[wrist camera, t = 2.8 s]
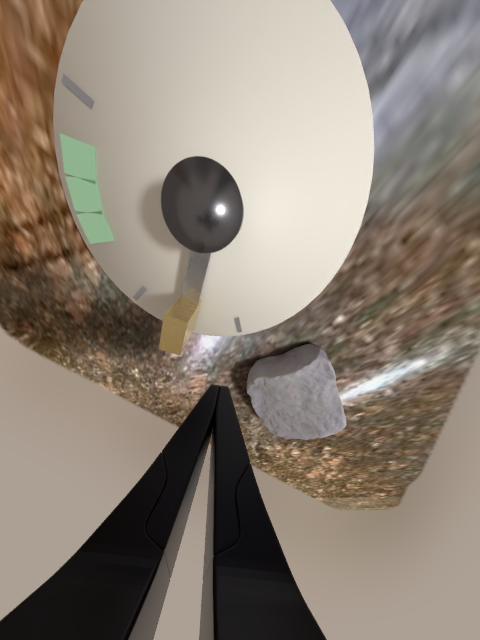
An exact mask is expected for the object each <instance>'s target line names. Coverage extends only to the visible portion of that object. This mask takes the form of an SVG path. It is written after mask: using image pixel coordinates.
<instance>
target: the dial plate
mask: <svg viewBox="0 0 480 640" xmlns="http://www.w3.org/2000/svg"><path fill="white" fill-rule="evenodd" d="M53 127H54V141H55V152H56V158H57V164H58V169H59V175H60V179H61V183H62V186H63V190H64V193H65V197H66V201H67V203H68V206H69V208H70V211H71V214H72V216H73V219H74V221H75V224H76V226H77V228H78V230H79V232H80V234H81V236H82V238H83V240H84V242H85V244H86V245H87V247H88V249H89V250H90V252H91V253H92V255H93V257H94V258H95V260H96V261H97V263H98V264H99V265H100V267H101V268H102V269H103V271H104V272H105V273H106V275H107V276H108V277H109V278H110V279H111V280H112V281H113V283H114V284H115V285H116V286H117V287H118V288H119V289H120V290H121V291H122V292H123V293H124V294H125V295H126V296H127V297H129V298H130V299H131V300H132V301H133V302H134V303H136V304H137V305H138V306H140V307H141V308H142V309H144V310H145V311H146V312H148V313H150V314H151V315H153V316H155V317H156V318H158V319H160V320H162V321H163V318H164V314H165V313H166V312H167V311H168V310H169V309H170V308H171V307H172V306H173V305H174V304H175V302H176V301H177V300H178V299H179V298H180V297H181V296H182V293H183V288H184V283H185V278H186V273H187V268H188V263H189V258H190V253H191V250H189V249H188V248H186V247H184V246H183V245H182V244H180V243H179V242H178V241H177V240H176V239H175V238H174V236H173V235H172V234H171V232H170V231H169V229H168V227H167V225H166V223H165V220H164V217H163V214H162V209H161V191H162V186H163V183H164V180H165V178H166V176H167V174H168V173H169V171H170V170H171V169H172V167H173V166H174V165H176V164H177V163H178V162H179V161H181V160H183V159H185V158H188V157H193V156H202V157H207V158H210V159H213V160H215V161H217V162H218V163H220V164H221V165H222V166H224V167H225V168H226V169H227V170H228V171H229V173H230V174H231V175H232V176H233V178H234V180H235V181H236V183H237V185H238V188H239V191H240V194H241V197H242V201H243V206H244V219H243V224H242V227H241V230H240V231H239V233H238V235H237V236H236V237H235V238H234V240H233V241H232V242H231V243H230V244H229V245H228V246H226V247H225V248H223V249H222V250H220V251H217V252H214V253H212V257H211V261H210V265H209V269H208V273H207V277H206V281H205V285H204V288H203V292H202V296H201V300H202V301H201V305H200V309H199V313H198V316H197V320H196V324H195V328H194V330H193V332H194V333H198V334H203V335H210V336H237V335H245V334H250V333H255V332H258V331H261V330H264V329H267V328H270V327H272V326H274V325H277V324H279V323H281V322H283V321H285V320H286V319H288V318H290V317H291V316H293V315H295V314H296V313H297V312H299V311H300V310H302V309H303V308H304V307H306V306H307V305H308V304H309V303H310V302H311V301H312V300H313V299H314V298H316V297H317V296H318V295H319V294H320V293H321V292H322V290H323V289H324V288H325V287H326V286H327V285H328V283H329V282H330V281H331V280H332V278H333V277H334V276H335V274H336V273H337V271H338V270H339V268H340V267H341V265H342V264H343V262H344V260H345V258H346V257H347V255H348V253H349V251H350V249H351V247H352V245H353V243H354V240H355V238H356V236H357V233H358V231H359V228H360V226H361V223H362V219H363V216H364V213H365V209H366V206H367V202H368V197H369V192H370V186H371V181H372V173H373V159H374V130H373V115H372V109H371V102H370V96H369V90H368V85H367V82H366V78H365V75H364V71H363V68H362V64H361V61H360V57H359V54H358V52H357V50H356V47H355V45H354V43H353V41H352V38H351V36H350V34H349V32H348V29H347V27H346V25H345V23H344V21H343V20H342V18H341V16H340V15H339V13H338V12H337V10H336V8H335V7H334V5H333V4H332V2H331V1H330V0H84V1H83V2H82V4H81V6H80V8H79V10H78V12H77V15H76V17H75V19H74V21H73V23H72V25H71V27H70V29H69V32H68V35H67V38H66V41H65V45H64V48H63V51H62V55H61V58H60V61H59V67H58V73H57V79H56V86H55V92H54V115H53Z"/></svg>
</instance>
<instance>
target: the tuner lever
mask: <svg viewBox="0 0 480 640" xmlns="http://www.w3.org/2000/svg"><path fill="white" fill-rule="evenodd" d="M161 209H162V214H163V217H164V220H165V223H166V225H167V227H168V229H169V231H170V232H171V234H172V235H173V236H174V238H175V239H176V240H177V241H178V242H179V243H180V244H182V245H183V246H184V247H186V248H188V249H189V250H191V253H190V258H189V263H188V268H187V273H186V278H185V283H184V288H183V293H182V296H181V297H180V298H179V299H178V300H177V301H176V302H175V304H174V305H173V306H172V307H171V308H170V309H169V310H168V311H167V312H166V313H165V314H164V318H163V324H162V331H161V337H160V344H159V349H160V350H163V351H167V352H170V353H174V354H177V355H181V353H182V351H183V349H184V347H185V345H186V343H187V341H188V339H189V337H190V336H191V334H192V332H193V330H194V328H195V324H196V320H197V316H198V313H199V309H200V305H201V301H202V300H201V296H202V292H203V288H204V285H205V281H206V277H207V273H208V269H209V265H210V261H211V257H212V253H214V252H217V251H220V250H222V249H223V248H225V247H226V246H228V245H229V244H230V243H231V242H232V241H233V240H234V238H235V237H236V236H237V235H238V233H239V231H240V230H241V227H242V224H243V219H244V206H243V201H242V197H241V194H240V191H239V188H238V185H237V183H236V181H235V180H234V178H233V176H232V175H231V174H230V173H229V171H228V170H227V169H226V168H225V167H224V166H222V165H221V164H220V163H218V162H217V161H215V160H213V159H210V158H207V157H202V156H193V157H188V158H185V159H183V160H181V161H179V162H178V163H177V164H176V165H174V166H173V167H172V169H171V170H170V171H169V173H168V174H167V176H166V178H165V180H164V183H163V186H162V191H161Z"/></svg>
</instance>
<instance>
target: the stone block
mask: <svg viewBox="0 0 480 640" xmlns="http://www.w3.org/2000/svg"><path fill="white" fill-rule="evenodd" d="M335 379H336V376H335V372H334V369H333V367H332V364H331V362H330V360H329V359H328V357H327V355H326V353H325V352H324V350H323V348H321V347H319V346H317V345H315V344H311V343H309V344H305V345H302V346H299V347H296V348H294V349H292V350H290V351H287V352H286V353H285V354H282V355H278V356H269V357H266V358H262V359H259V360H257V361H256V363H255V364H254V365H253V367H252V368H251V370H250V372H249V374H248V379H247V393H248V394H249V395H250V396H251V403H252V406H253V408H254V409H255V412H256V413H257V414H258V416H259V417H260V418H261V419H262V420H263V423H264V424H265V425H266V426H267V428H268V429H269V430H270V431H271V432H272V433H273V434H275V435H277V436H280V437H283V438H294V439H297V438H300V439H305V440H308V439H311V438H323V437H326V436H330V435H333V434H336V433H338V432H340V431H341V429H344V428H345V426H346V418H345V414H344V410H343V407H342V403H341V400H340V397H339V394H338V390H337V386H336V381H335Z"/></svg>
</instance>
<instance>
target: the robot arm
mask: <svg viewBox="0 0 480 640" xmlns="http://www.w3.org/2000/svg"><path fill="white" fill-rule="evenodd" d="M219 387H220V388H219ZM212 429H213V431H212ZM211 434H212V440H211V456H210V474H209V489H208V505H207V506H208V507H207V523H206V538H205V555H204V572H203V586H202V604H201V619H200V635H199V636H200V637H199V640H327V639H326V638H325V636H324V634H323V633H322V631H321V629H320V627H319V625H318V624H317V622H316V620H315V618H314V617H313V615H312V613H311V611H310V610H309V608H308V606H307V604H306V603H305V601H304V599H303V597H302V595H301V592H300V590H299V588H298V586H297V584H296V582H295V580H294V577H293V575H292V573H291V570H290V568H289V566H288V563H287V561H286V558H285V556H284V553H283V551H282V548H281V546H280V543H279V541H278V538H277V536H276V533H275V531H274V528H273V526H272V523H271V521H270V518H269V516H268V513H267V511H266V508H265V505H264V503H263V500H262V497H261V494H260V492H259V488H258V485H257V482H256V479H255V476H254V473H253V469H252V466H251V464H250V459H249V456H248V452H247V449H246V445H245V442H244V439H243V435H242V432H241V428H240V425H239V422H238V418H237V415H236V411H235V408H234V404H233V401H232V398H231V394H230V391H229V388H228V387H227V386H219V385H214V384H212V385H210V387H209V388H208V389H207V391H206V392H205V393H204V395H203V396H202V398H201V399H200V400H199V402H198V403H197V404H196V406H195V407H194V408H193V410H192V411H191V412H190V414H189V415H188V416H187V418H186V419H185V421H184V422H183V423H182V425H181V426H180V427H179V429H178V430H177V431H176V433H175V434H174V435H173V437H172V438H171V439H170V441H169V442H168V444H167V445H166V446H165V448H164V449H163V450H162V453H160V454H159V456H158V457H157V458H156V460H155V461H154V462H153V464H152V465H151V466H150V467H149V469H148V470H147V471H146V473H145V474H144V475H143V477H142V478H141V479H140V480H139V481H138V483H137V484H136V485H135V486H134V487H133V488H132V490H131V491H130V492H129V493H128V494H127V496H126V497H125V498H124V499H123V500H122V501H121V502H120V503H119V505H118V506H117V507H116V508H115V509H114V510H113V512H112V513H111V514H110V515H109V516H108V517H107V518H106V519H105V520H104V522H103V523H102V524H101V525H100V526H99V527H98V528H97V529H96V531H95V532H94V533H93V534H92V535H91V536H90V537H89V539H88V540H87V541H86V542H85V543H84V544H83V545H82V546H81V548H80V549H79V550H78V551H77V552H76V553H75V554H74V555H73V556H72V557H71V558H70V559H69V560H68V561H67V562H66V563H65V564H64V565H63V566H62V567H61V568H60V569H59V570H58V571H57V572H56V573H55V574H54V575H53V576H52V577H50V578H49V579H48V580H47V581H46V582H45V583H44V584H42V585H41V586H40V587H39V588H38V589H37V590H35V591H34V592H33V593H32V594H31V595H30V596H29V597H27V598H26V599H25V600H24V601H23V602H22V603H20V604H19V605H18V606H17V607H16V608H15V609H13V611H11V612H10V613H9V614H8V615H6V616H5V617H4V618H3V619H2V620H1V621H0V640H153V638H154V635H155V631H156V628H157V624H158V620H159V617H160V613H161V610H162V607H163V603H164V599H165V596H166V593H167V589H168V586H169V582H170V578H171V575H172V571H173V568H174V564H175V561H176V557H177V554H178V551H179V547H180V544H181V540H182V536H183V533H184V530H185V526H186V522H187V519H188V515H189V512H190V508H191V505H192V501H193V498H194V494H195V491H196V487H197V484H198V480H199V476H200V473H201V469H202V466H203V463H204V459H205V456H206V452H207V449H208V445H209V442H210V438H211Z"/></svg>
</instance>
